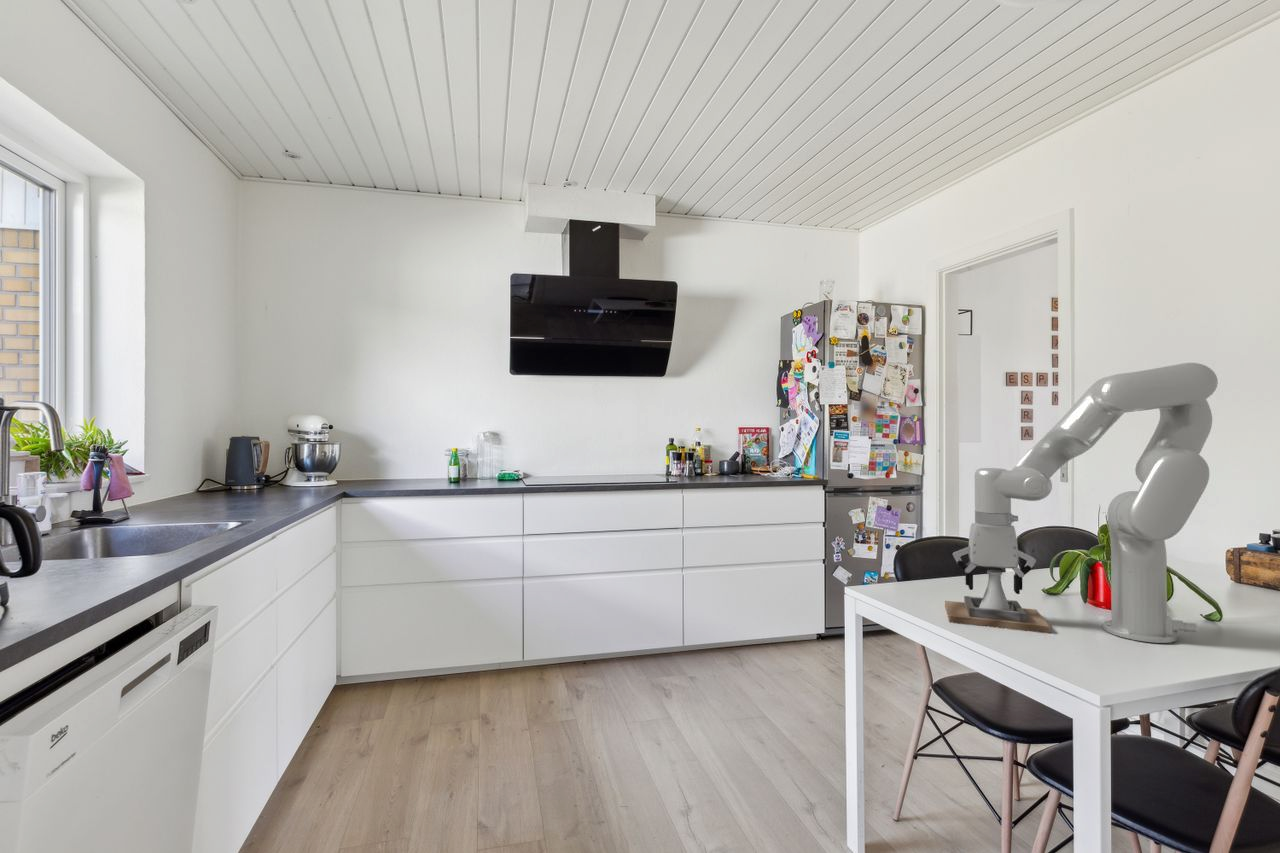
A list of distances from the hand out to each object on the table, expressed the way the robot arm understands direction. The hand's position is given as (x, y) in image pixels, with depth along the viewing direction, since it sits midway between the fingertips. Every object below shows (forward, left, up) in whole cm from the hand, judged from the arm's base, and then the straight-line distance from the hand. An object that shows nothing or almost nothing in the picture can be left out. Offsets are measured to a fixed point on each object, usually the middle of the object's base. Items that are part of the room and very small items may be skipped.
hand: (993, 590), depth 144 cm
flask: (0, 0, -6) cm, 6 cm away
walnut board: (0, 0, -7) cm, 7 cm away
